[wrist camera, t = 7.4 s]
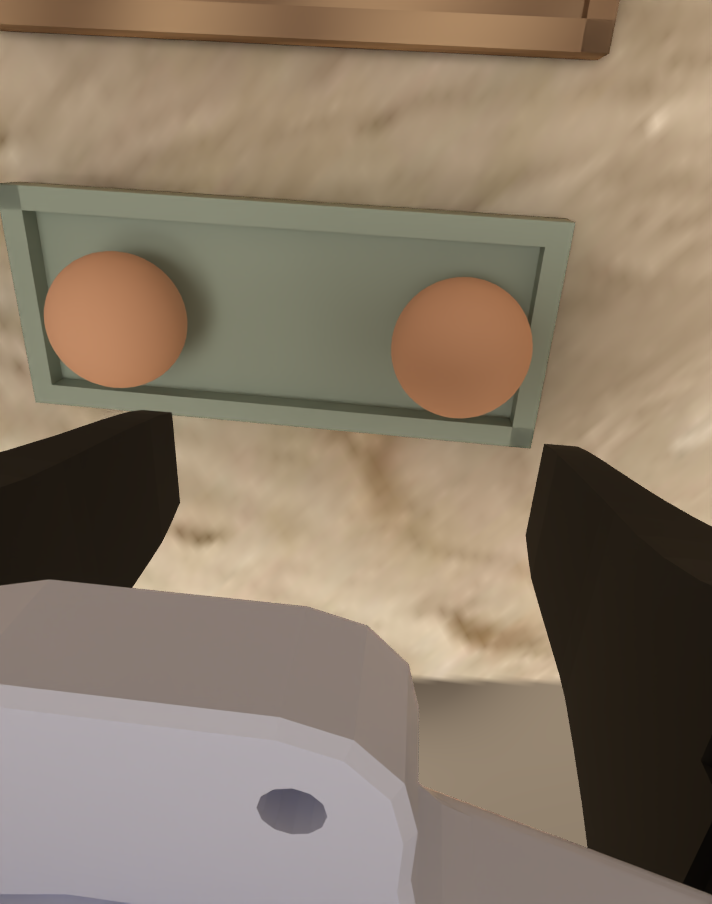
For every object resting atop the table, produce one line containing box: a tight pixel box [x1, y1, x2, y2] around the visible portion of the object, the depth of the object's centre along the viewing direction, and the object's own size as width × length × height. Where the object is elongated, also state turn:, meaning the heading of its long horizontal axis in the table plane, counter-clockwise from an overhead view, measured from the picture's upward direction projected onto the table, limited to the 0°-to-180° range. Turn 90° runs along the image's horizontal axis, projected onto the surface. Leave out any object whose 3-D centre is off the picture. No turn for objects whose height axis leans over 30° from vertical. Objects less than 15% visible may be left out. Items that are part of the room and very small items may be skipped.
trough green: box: [0, 182, 575, 448], centre depth 20 cm, size 17×7×1 cm, turn 87°
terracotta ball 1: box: [44, 251, 187, 388], centre depth 19 cm, size 4×4×4 cm
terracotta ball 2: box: [391, 277, 533, 418], centre depth 18 cm, size 4×4×4 cm
